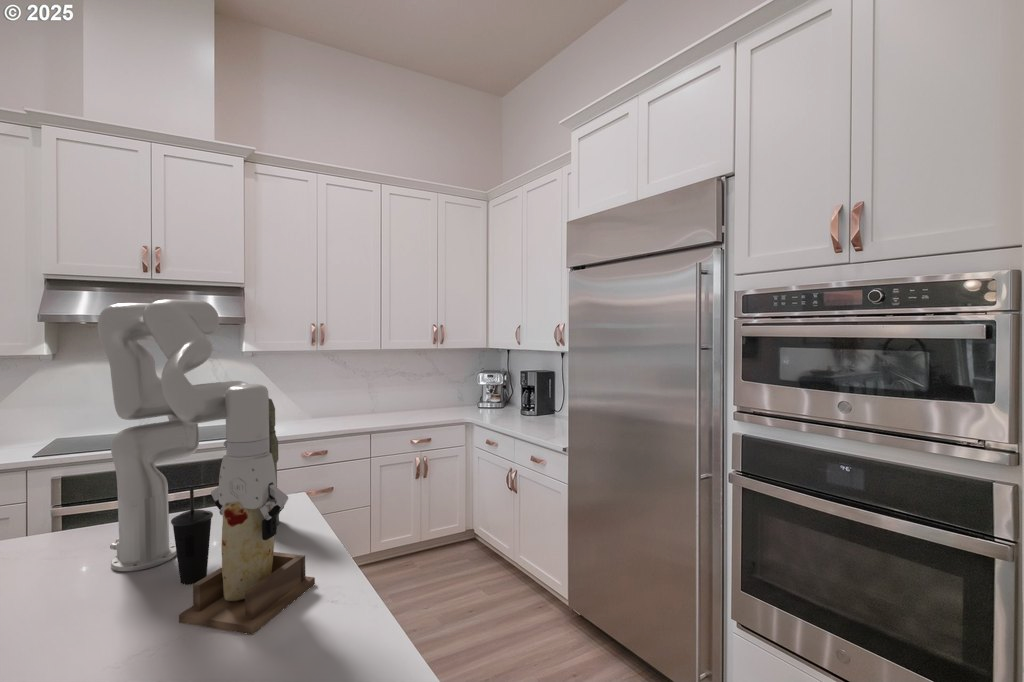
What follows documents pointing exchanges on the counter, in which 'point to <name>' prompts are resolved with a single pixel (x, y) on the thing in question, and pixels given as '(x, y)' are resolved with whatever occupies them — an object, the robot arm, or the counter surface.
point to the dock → (248, 597)
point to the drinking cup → (192, 542)
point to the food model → (244, 551)
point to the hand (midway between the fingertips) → (249, 534)
